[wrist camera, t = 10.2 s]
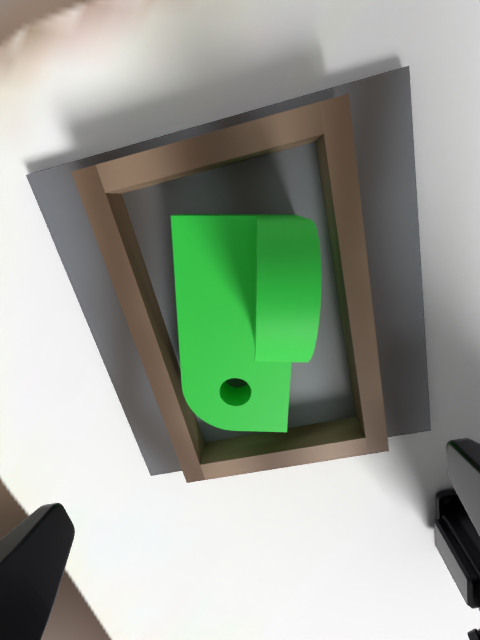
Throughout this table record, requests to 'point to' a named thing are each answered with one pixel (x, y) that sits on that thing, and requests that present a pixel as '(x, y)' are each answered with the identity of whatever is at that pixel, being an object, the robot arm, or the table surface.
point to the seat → (259, 198)
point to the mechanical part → (244, 313)
